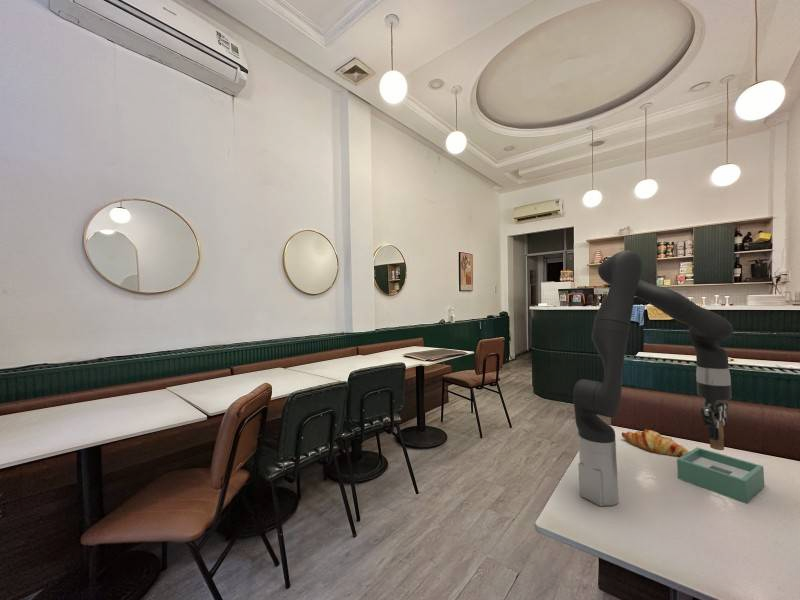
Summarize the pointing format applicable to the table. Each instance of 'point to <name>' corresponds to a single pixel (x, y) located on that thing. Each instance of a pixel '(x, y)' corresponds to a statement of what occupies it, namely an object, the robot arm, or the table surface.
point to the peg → (720, 443)
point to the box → (721, 474)
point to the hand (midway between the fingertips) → (716, 437)
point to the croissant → (654, 442)
